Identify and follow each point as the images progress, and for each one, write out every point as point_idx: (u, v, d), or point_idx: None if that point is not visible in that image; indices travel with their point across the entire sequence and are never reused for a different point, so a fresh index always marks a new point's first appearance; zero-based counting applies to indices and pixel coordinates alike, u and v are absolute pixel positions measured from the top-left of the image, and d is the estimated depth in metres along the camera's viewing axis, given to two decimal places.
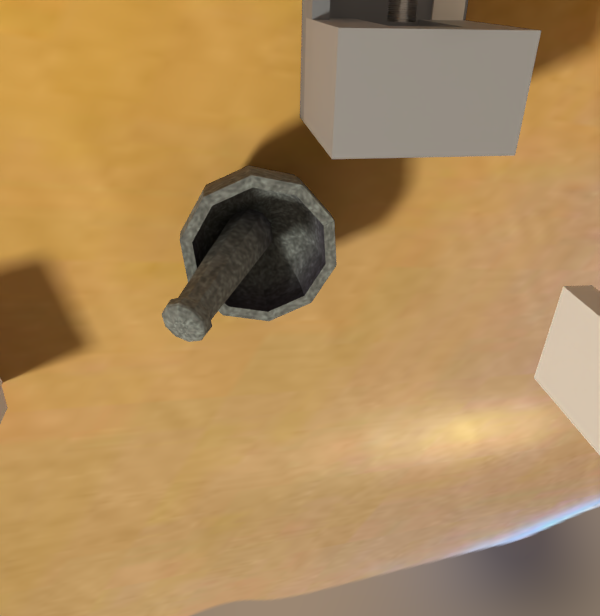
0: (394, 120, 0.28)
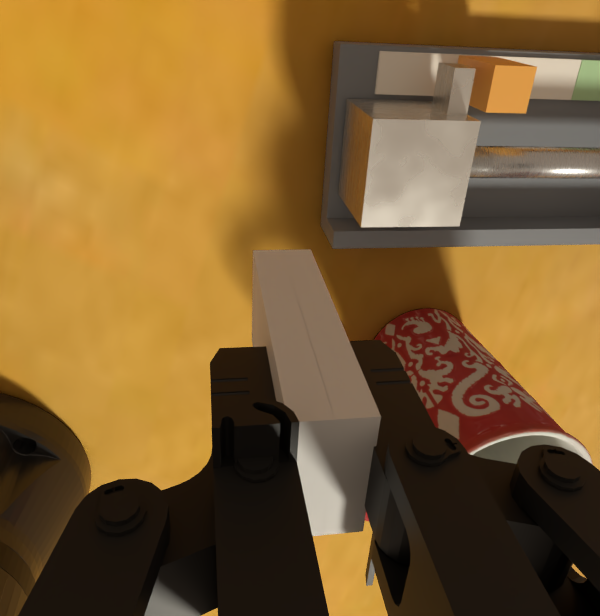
0: None
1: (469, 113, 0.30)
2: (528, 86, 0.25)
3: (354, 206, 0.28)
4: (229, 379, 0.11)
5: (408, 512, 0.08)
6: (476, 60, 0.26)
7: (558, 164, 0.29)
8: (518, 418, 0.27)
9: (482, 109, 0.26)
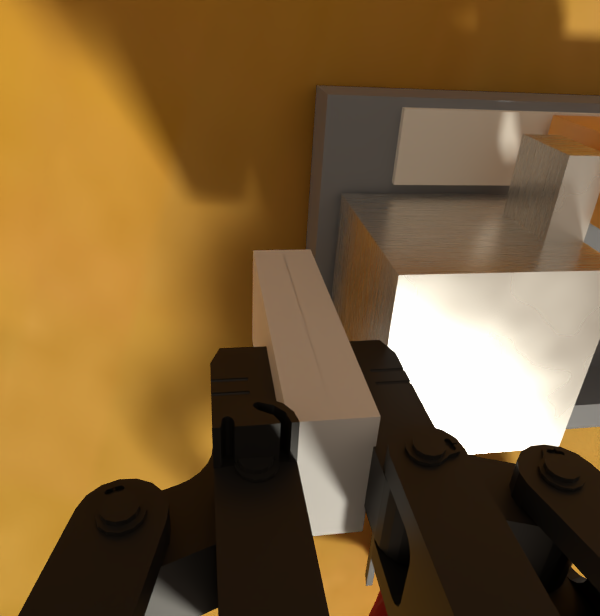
0: None
1: None
2: None
3: None
4: (229, 379, 0.11)
5: (408, 512, 0.08)
6: None
7: None
8: None
9: None
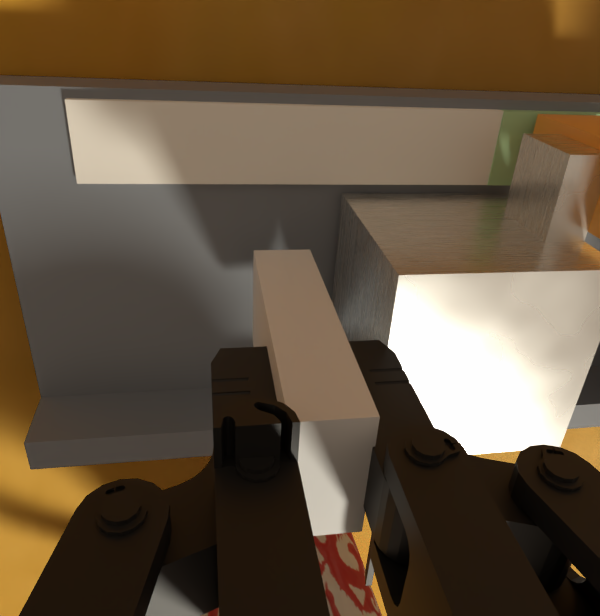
0: None
1: (288, 212, 0.15)
2: None
3: None
4: (230, 379, 0.11)
5: (407, 512, 0.08)
6: (583, 132, 0.13)
7: None
8: None
9: (599, 235, 0.13)
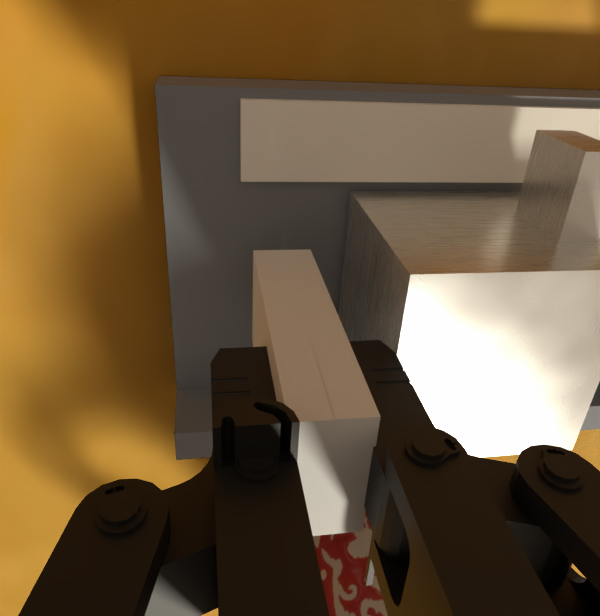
0: None
1: None
2: None
3: None
4: (229, 379, 0.11)
5: (407, 512, 0.08)
6: None
7: None
8: None
9: None
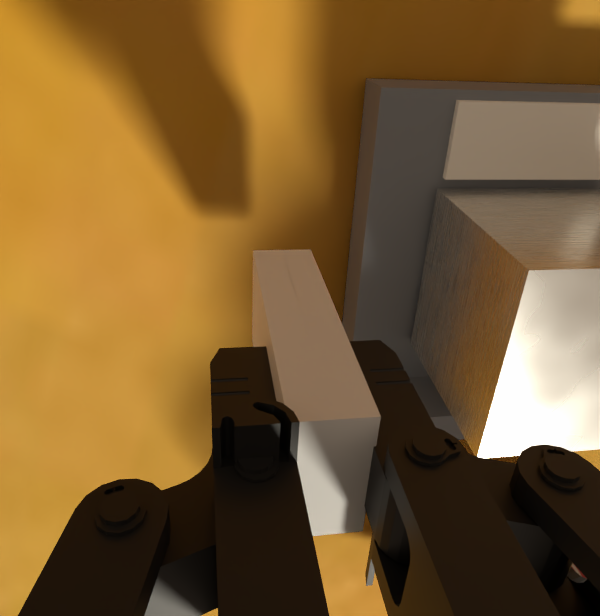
0: None
1: None
2: None
3: (455, 400, 0.14)
4: (229, 379, 0.11)
5: (408, 512, 0.08)
6: None
7: None
8: None
9: None
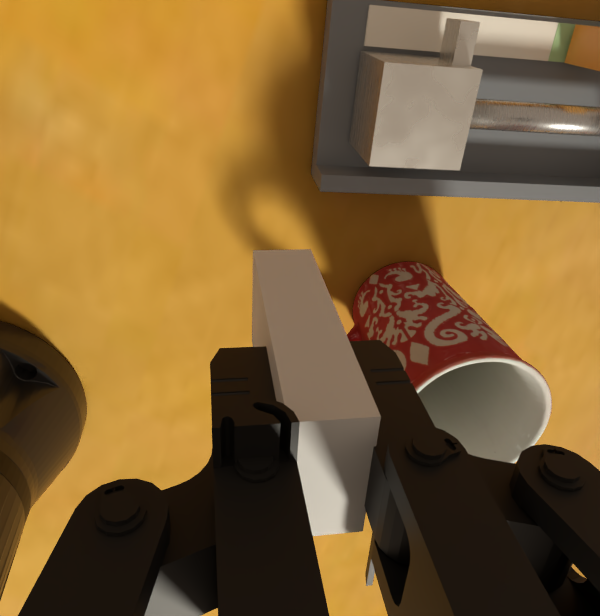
0: None
1: None
2: None
3: (363, 148, 0.30)
4: (229, 379, 0.11)
5: (408, 512, 0.08)
6: (596, 27, 0.30)
7: (553, 118, 0.31)
8: (483, 348, 0.29)
9: None
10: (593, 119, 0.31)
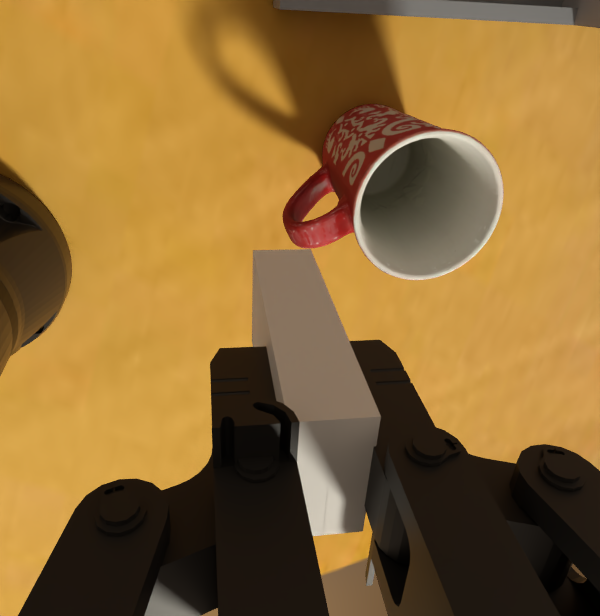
0: None
1: None
2: None
3: None
4: (229, 379, 0.11)
5: (408, 512, 0.08)
6: None
7: None
8: None
9: None
10: None
